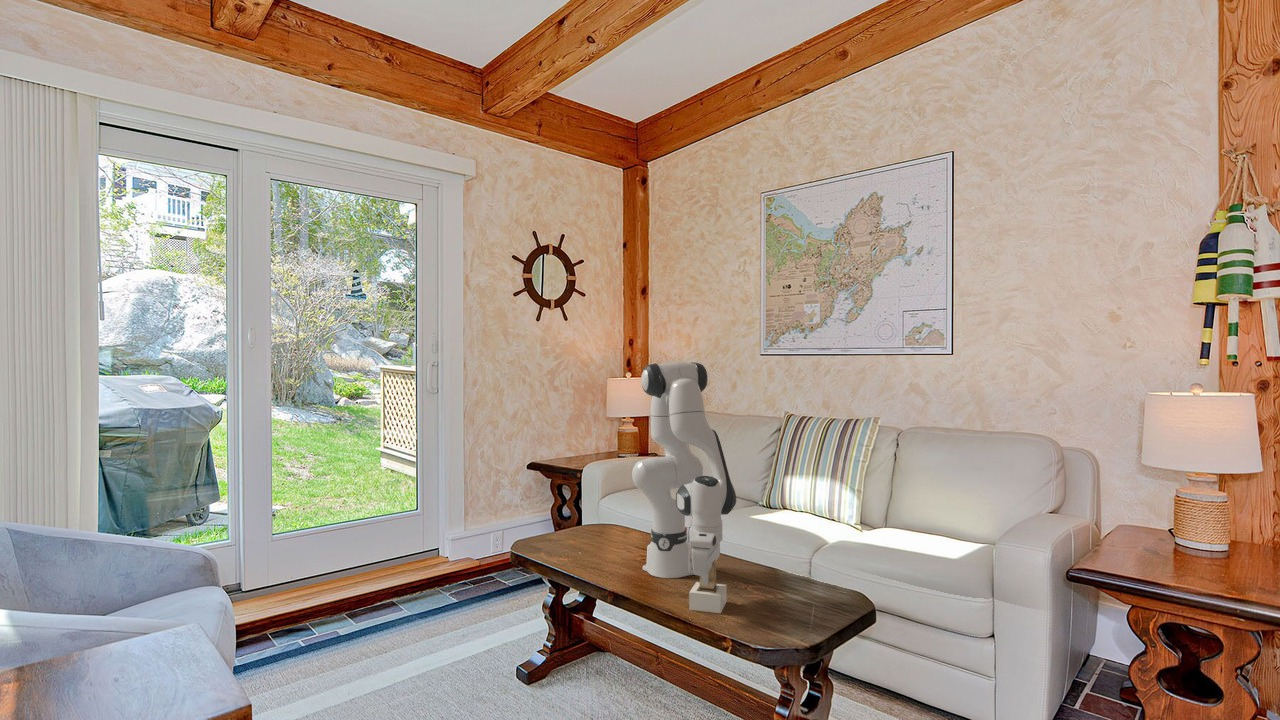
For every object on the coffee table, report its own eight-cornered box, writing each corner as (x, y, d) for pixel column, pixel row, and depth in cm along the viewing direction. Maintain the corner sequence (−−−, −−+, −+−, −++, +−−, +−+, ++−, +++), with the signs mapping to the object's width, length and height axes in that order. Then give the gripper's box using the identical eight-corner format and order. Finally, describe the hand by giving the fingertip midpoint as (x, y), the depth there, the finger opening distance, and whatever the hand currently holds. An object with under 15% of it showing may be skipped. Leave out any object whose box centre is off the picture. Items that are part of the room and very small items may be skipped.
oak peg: (702, 599, 187) (702, 558, 187) (716, 600, 186) (716, 559, 186) (699, 604, 183) (699, 562, 183) (713, 605, 182) (713, 563, 182)
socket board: (696, 598, 190) (696, 581, 190) (726, 601, 187) (726, 584, 187) (689, 609, 182) (689, 592, 182) (720, 613, 179) (720, 595, 179)
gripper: (704, 523, 195) (704, 568, 195) (688, 542, 176) (688, 592, 176) (724, 525, 193) (725, 570, 193) (710, 544, 174) (711, 594, 174)
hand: (707, 581), depth 185 cm, fingers closed on oak peg, 4 cm apart
